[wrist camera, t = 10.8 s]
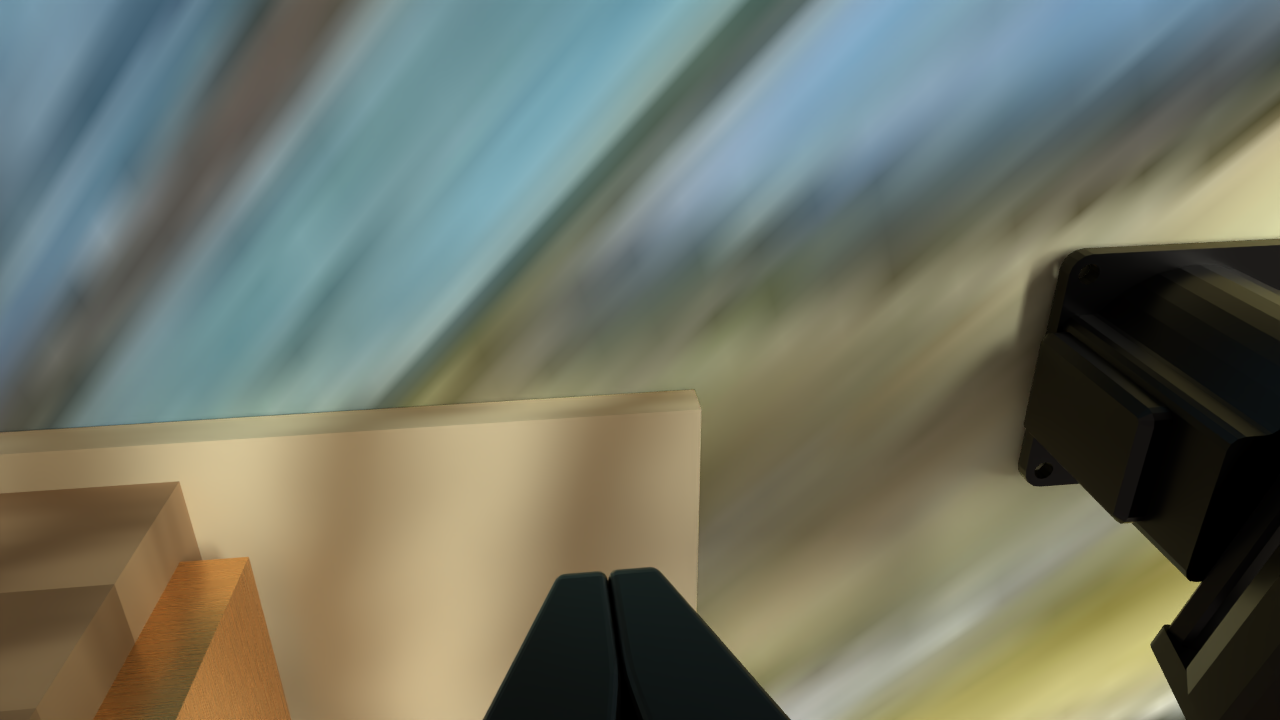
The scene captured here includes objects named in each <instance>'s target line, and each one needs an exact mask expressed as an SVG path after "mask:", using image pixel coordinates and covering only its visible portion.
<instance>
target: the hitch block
mask: <svg viewBox="0 0 1280 720" xmlns="http://www.w3.org/2000/svg"><path fill="white" fill-rule="evenodd" d="M700 450H701V407H700V404H699V401H698V398H697V395H696V392H695V390H694V389H693V390H677V391H661V392H645V393H629V394H613V395H597V396H580V397H564V398H548V399H532V400H516V401H500V402H484V403H468V404H452V405H436V406H420V407H403V408H387V409H371V410H355V411H339V412H323V413H307V414H291V415H275V416H259V417H243V418H226V419H210V420H194V421H178V422H162V423H146V424H130V425H114V426H98V427H82V428H65V429H49V430H33V431H17V432H1V433H0V720H93V719H94V717H95V715H96V713H97V711H98V709H99V708H100V706H101V704H102V702H103V700H104V699H105V697H106V695H107V693H108V691H109V689H110V688H111V686H112V684H113V682H114V680H115V679H116V677H117V675H118V673H119V671H120V670H121V668H122V666H123V664H124V662H125V660H126V659H127V657H128V655H129V653H130V651H131V650H132V648H133V646H134V644H135V642H136V640H137V639H138V637H139V635H140V633H141V631H142V630H143V628H144V626H145V624H146V622H147V621H148V619H149V617H150V615H151V613H152V611H153V610H154V608H155V606H156V604H157V602H158V601H159V599H160V597H161V595H162V593H163V591H164V590H165V588H166V586H167V584H168V582H169V581H170V579H171V577H172V575H173V573H174V572H175V570H176V568H177V566H178V564H179V562H187V561H200V560H213V559H226V558H239V557H249V559H250V563H251V567H252V571H253V575H254V579H255V582H256V586H257V590H258V594H259V598H260V602H261V605H262V609H263V613H264V617H265V621H266V625H267V628H268V632H269V636H270V640H271V644H272V648H273V651H274V655H275V659H276V663H277V667H278V671H279V674H280V678H281V682H282V686H283V690H284V694H285V697H286V701H287V705H288V709H289V713H290V717H291V720H483V718H484V716H485V714H486V712H487V710H488V708H489V706H490V704H491V702H492V700H493V699H494V697H495V695H496V693H497V691H498V689H499V687H500V685H501V683H502V681H503V679H504V677H505V675H506V673H507V672H508V670H509V668H510V666H511V664H512V662H513V660H514V658H515V656H516V654H517V652H518V650H519V648H520V646H521V645H522V643H523V641H524V639H525V637H526V635H527V633H528V631H529V629H530V627H531V625H532V623H533V621H534V619H535V618H536V616H537V614H538V612H539V610H540V608H541V606H542V604H543V602H544V600H545V598H546V596H547V594H548V592H549V591H550V589H551V587H552V585H553V583H554V581H555V580H556V578H557V577H558V576H560V575H562V574H568V573H580V572H593V571H601V572H603V573H605V575H606V576H607V579H608V577H609V575H610V573H611V572H612V571H613V570H617V569H630V568H642V567H654V568H656V569H658V570H659V571H660V572H661V573H662V574H663V575H664V576H665V577H666V578H667V579H668V581H669V582H670V583H671V584H672V585H673V586H674V587H675V588H676V590H677V591H678V592H679V593H680V594H681V595H682V596H683V598H684V599H685V600H686V601H687V602H688V603H689V604H690V606H691V607H692V608H693V609H694V610H695V611H696V612H697V576H698V534H699V492H700Z"/></svg>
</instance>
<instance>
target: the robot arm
mask: <svg viewBox="0 0 1280 720" xmlns="http://www.w3.org/2000/svg"><path fill="white" fill-rule="evenodd" d="M1089 264H1090V269H1089V271H1088V273H1087V274H1086V275H1085V276H1083V277H1081V278H1079V273H1080V271H1081V269H1083V268H1084V267H1085V266H1086V265H1089ZM1024 427H1025V428H1026V430H1025V435H1024V439H1023V444H1022V449H1021V453H1020V458H1019V463H1018V470H1019V472H1020V473H1021V475H1022V476H1023V477H1024V478H1025V479H1026V480H1027V482H1028V483H1030V484H1031V485H1033V486H1053V485H1066V484H1081V486H1082V487H1083V488H1084V489H1085V490H1086V491H1087V492H1088V493H1089V494H1090V495H1091V496H1092V497H1093V498H1094V499H1095V500H1096V501H1097V502H1098V503H1099V504H1100V505H1101V506H1102V507H1103V508H1104V509H1105V510H1106V511H1107V512H1108V513H1109V514H1110V515H1111V516H1112V517H1113V518H1114V519H1115V520H1116V521H1117V522H1119V523H1121V524H1122V523H1132V524H1133V525H1134V526H1135V527H1136V528H1137V529H1138V530H1139V531H1140V532H1141V533H1142V534H1143V535H1144V536H1145V537H1146V538H1147V539H1148V540H1149V541H1150V542H1151V543H1152V544H1153V545H1154V546H1155V547H1156V548H1157V549H1158V550H1159V551H1160V552H1161V553H1162V554H1163V555H1164V556H1165V557H1166V558H1167V559H1168V560H1169V561H1170V562H1171V563H1172V564H1173V565H1174V566H1175V567H1176V568H1177V569H1178V570H1179V571H1180V572H1181V573H1182V574H1183V575H1184V576H1185V577H1186V578H1187V579H1188V580H1189V581H1193V582H1201V581H1202V582H1201V583H1200V585H1199V586H1198V588H1197V589H1196V590H1195V592H1194V593H1193V594H1192V596H1191V597H1190V599H1189V600H1188V601H1187V603H1186V604H1185V606H1184V607H1183V608H1182V610H1181V611H1180V612H1179V614H1178V615H1177V617H1176V618H1175V619H1174V621H1173V622H1172V624H1171V625H1164V626H1163V627H1162V629H1161V630H1160V631H1159V633H1158V634H1157V636H1156V637H1155V638H1154V640H1153V641H1152V642H1151V644H1150V645H1151V648H1152V650H1153V652H1154V655H1155V657H1156V659H1157V661H1158V663H1159V665H1160V667H1161V669H1162V671H1163V673H1164V675H1165V677H1166V679H1167V681H1168V683H1169V685H1170V687H1171V690H1172V692H1173V694H1174V696H1175V698H1176V700H1177V702H1178V704H1179V706H1180V708H1181V710H1182V712H1183V714H1184V716H1185V718H1186V720H1280V239H1268V240H1247V241H1227V242H1206V243H1186V244H1165V245H1145V246H1125V247H1104V248H1084V249H1080V250H1076V251H1074V252H1073V253H1071V254H1070V255H1068V257H1067V258H1066V259H1065V260H1064V261H1063V263H1062V266H1061V268H1060V271H1059V276H1058V281H1057V285H1056V290H1055V295H1054V299H1053V304H1052V309H1051V313H1050V318H1049V323H1048V327H1047V332H1046V336H1045V338H1044V339H1043V341H1042V342H1041V345H1040V350H1039V355H1038V359H1037V364H1036V369H1035V373H1034V378H1033V383H1032V388H1031V392H1030V397H1029V402H1028V406H1027V411H1026V416H1025V420H1024ZM1042 463H1044V465H1043V466H1042V467H1041V468H1040V469H1038V470H1035V469H1036V467H1037V466H1039V465H1040V464H1042ZM483 720H791V719H790V718H789V717H788V716H787V715H786V714H785V713H784V711H783V710H782V709H781V708H780V707H779V706H778V705H777V704H776V702H775V701H774V700H773V699H772V698H771V697H770V696H769V694H768V693H767V692H766V691H765V690H764V689H763V688H762V686H761V685H760V684H759V683H758V682H757V681H756V680H755V678H754V677H753V676H752V675H751V674H750V673H749V672H748V670H747V669H746V668H745V667H744V666H743V665H742V664H741V663H740V661H739V660H738V659H737V658H736V657H735V656H734V655H733V653H732V652H731V651H730V650H729V649H728V648H727V647H726V645H725V644H724V643H723V642H722V641H721V640H720V639H719V637H718V636H717V635H716V634H715V633H714V632H713V631H712V629H711V628H710V627H709V626H708V625H707V624H706V623H705V622H704V620H703V619H702V618H701V617H700V616H699V615H698V614H697V612H696V611H695V610H694V609H693V608H692V607H691V606H690V604H689V603H688V602H687V601H686V600H685V599H684V598H683V596H682V595H681V594H680V593H679V592H678V591H677V590H676V588H675V587H674V586H673V585H672V584H671V583H670V582H669V581H668V579H667V578H666V577H665V576H664V575H663V574H662V573H661V572H660V571H659V570H658V569H656V568H654V567H642V568H630V569H617V570H613V571H612V572H611V573H610V575H609V577H608V579H607V576H606V575H605V573H603V572H601V571H593V572H580V573H568V574H562V575H560V576H558V577H557V578H556V580H555V581H554V583H553V585H552V587H551V589H550V591H549V592H548V594H547V596H546V598H545V600H544V602H543V604H542V606H541V608H540V610H539V612H538V614H537V616H536V618H535V619H534V621H533V623H532V625H531V627H530V629H529V631H528V633H527V635H526V637H525V639H524V641H523V643H522V645H521V646H520V648H519V650H518V652H517V654H516V656H515V658H514V660H513V662H512V664H511V666H510V668H509V670H508V672H507V673H506V675H505V677H504V679H503V681H502V683H501V685H500V687H499V689H498V691H497V693H496V695H495V697H494V699H493V700H492V702H491V704H490V706H489V708H488V710H487V712H486V714H485V716H484V718H483Z"/></svg>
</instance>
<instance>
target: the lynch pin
mask: <svg viewBox="0 0 1280 720" xmlns="http://www.w3.org/2000/svg"><path fill="white" fill-rule="evenodd" d="M93 720H291V717H290V713H289V709H288V705H287V701H286V697H285V694H284V690H283V686H282V682H281V678H280V674H279V671H278V667H277V663H276V659H275V655H274V651H273V648H272V644H271V640H270V636H269V632H268V628H267V625H266V621H265V617H264V613H263V609H262V605H261V602H260V598H259V594H258V590H257V586H256V582H255V579H254V575H253V571H252V567H251V563H250V559H249V557H239V558H226V559H213V560H200V561H187V562H179V564H178V566H177V568H176V570H175V572H174V573H173V575H172V577H171V579H170V581H169V582H168V584H167V586H166V588H165V590H164V591H163V593H162V595H161V597H160V599H159V601H158V602H157V604H156V606H155V608H154V610H153V611H152V613H151V615H150V617H149V619H148V621H147V622H146V624H145V626H144V628H143V630H142V631H141V633H140V635H139V637H138V639H137V640H136V642H135V644H134V646H133V648H132V650H131V651H130V653H129V655H128V657H127V659H126V660H125V662H124V664H123V666H122V668H121V670H120V671H119V673H118V675H117V677H116V679H115V680H114V682H113V684H112V686H111V688H110V689H109V691H108V693H107V695H106V697H105V699H104V700H103V702H102V704H101V706H100V708H99V709H98V711H97V713H96V715H95V717H94V719H93Z"/></svg>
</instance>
